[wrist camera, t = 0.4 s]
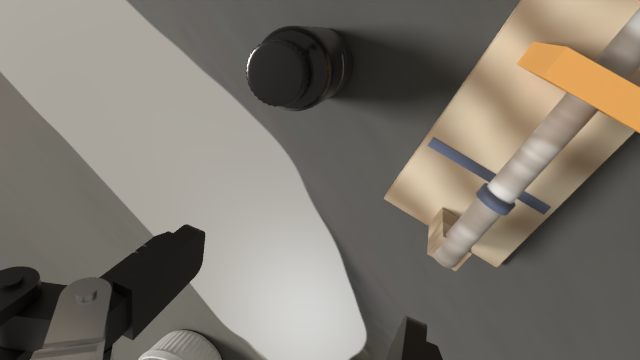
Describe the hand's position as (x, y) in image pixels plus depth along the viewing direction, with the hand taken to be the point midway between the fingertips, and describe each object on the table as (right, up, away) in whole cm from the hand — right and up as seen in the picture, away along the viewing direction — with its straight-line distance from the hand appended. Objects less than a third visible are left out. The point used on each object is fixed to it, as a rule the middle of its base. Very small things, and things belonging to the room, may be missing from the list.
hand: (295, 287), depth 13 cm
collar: (+22, +12, +16) cm, 30 cm away
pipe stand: (+20, +9, +20) cm, 30 cm away
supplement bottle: (+1, +16, +24) cm, 29 cm away
